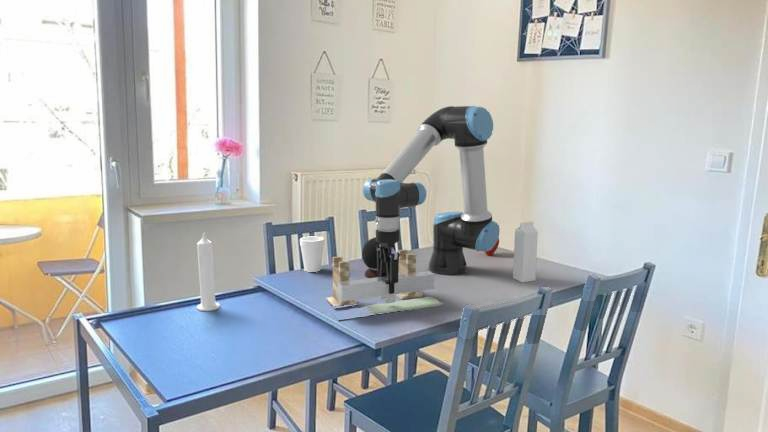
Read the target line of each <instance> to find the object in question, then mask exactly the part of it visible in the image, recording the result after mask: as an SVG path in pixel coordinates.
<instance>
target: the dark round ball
mask: <svg viewBox="0 0 768 432" xmlns="http://www.w3.org/2000/svg"><path fill="white" fill-rule="evenodd" d="M376 245H380V243H379V242H377V241H376V236H375V237H372V238H370V239H368V241H366V242H365V244H364V245H363V248H362V251H361V258H362V261H363V263H364V265H365V266H367V267H368V268H367V269H366V271H364V277H365V278H366V279H368V278H376V277H379V275H378V274H377V250H376Z"/></svg>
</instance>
